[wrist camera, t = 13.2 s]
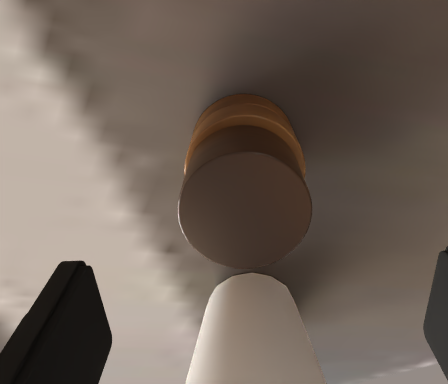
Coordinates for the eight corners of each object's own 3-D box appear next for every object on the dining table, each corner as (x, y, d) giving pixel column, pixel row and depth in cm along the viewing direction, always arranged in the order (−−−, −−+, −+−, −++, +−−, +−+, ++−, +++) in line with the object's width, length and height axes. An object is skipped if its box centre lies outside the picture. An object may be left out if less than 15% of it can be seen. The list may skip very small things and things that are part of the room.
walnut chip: (278, 106, 18) (287, 130, 15) (313, 206, 20) (328, 246, 17) (167, 149, 19) (153, 180, 16) (213, 240, 21) (209, 284, 18)
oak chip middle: (278, 85, 20) (283, 94, 18) (312, 185, 22) (320, 204, 20) (170, 128, 21) (163, 142, 19) (214, 219, 23) (212, 240, 21)
